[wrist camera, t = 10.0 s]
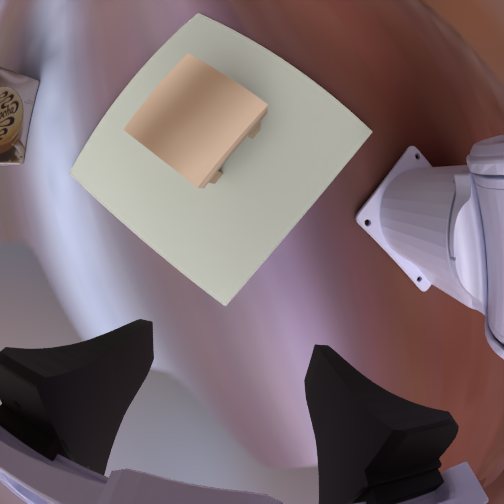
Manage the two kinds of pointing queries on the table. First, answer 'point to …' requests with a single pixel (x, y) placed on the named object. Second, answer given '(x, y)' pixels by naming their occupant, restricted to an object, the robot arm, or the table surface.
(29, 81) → the coffee box
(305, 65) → the table surface
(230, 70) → the mat
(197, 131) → the stool
